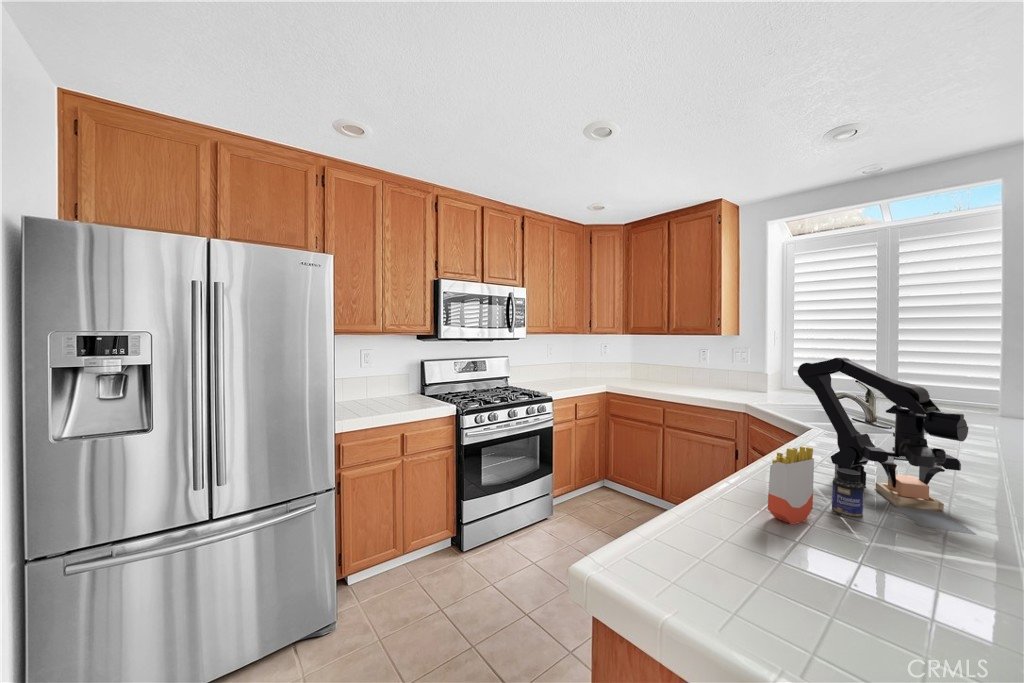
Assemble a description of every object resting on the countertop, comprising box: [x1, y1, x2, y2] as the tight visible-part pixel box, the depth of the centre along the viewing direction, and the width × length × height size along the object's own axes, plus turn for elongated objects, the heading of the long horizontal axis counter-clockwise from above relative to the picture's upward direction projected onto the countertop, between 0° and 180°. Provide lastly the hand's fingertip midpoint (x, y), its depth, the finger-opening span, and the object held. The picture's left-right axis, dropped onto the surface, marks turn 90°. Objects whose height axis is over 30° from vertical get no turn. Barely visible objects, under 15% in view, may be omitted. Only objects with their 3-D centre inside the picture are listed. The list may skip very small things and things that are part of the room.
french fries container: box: [767, 446, 815, 525], centre depth 99 cm, size 5×11×18 cm, turn 114°
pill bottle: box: [831, 468, 865, 519], centre depth 102 cm, size 6×6×11 cm
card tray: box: [875, 481, 945, 512], centre depth 110 cm, size 10×12×2 cm
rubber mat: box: [874, 488, 978, 536], centre depth 105 cm, size 10×25×1 cm, turn 157°
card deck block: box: [887, 474, 930, 500], centre depth 110 cm, size 8×6×4 cm
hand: (907, 489), depth 110 cm, fingers closed on card deck block, 5 cm apart
